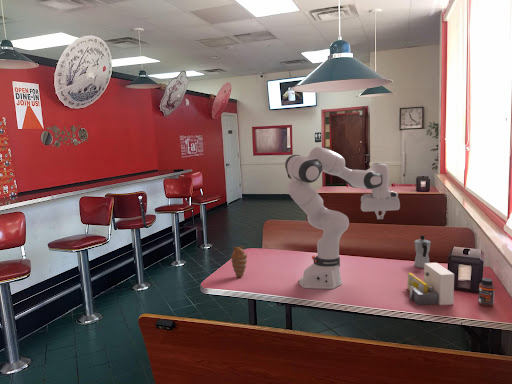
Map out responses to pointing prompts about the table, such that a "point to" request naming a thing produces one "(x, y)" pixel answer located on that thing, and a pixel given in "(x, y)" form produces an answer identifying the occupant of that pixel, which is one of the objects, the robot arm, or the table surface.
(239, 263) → the brown ridged elongated piece
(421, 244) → the coffee maker
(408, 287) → the candy box
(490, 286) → the supplement bottle
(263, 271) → the table surface
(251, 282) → the table surface
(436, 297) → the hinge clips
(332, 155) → the robot arm
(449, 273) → the cabinet
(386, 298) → the table surface
